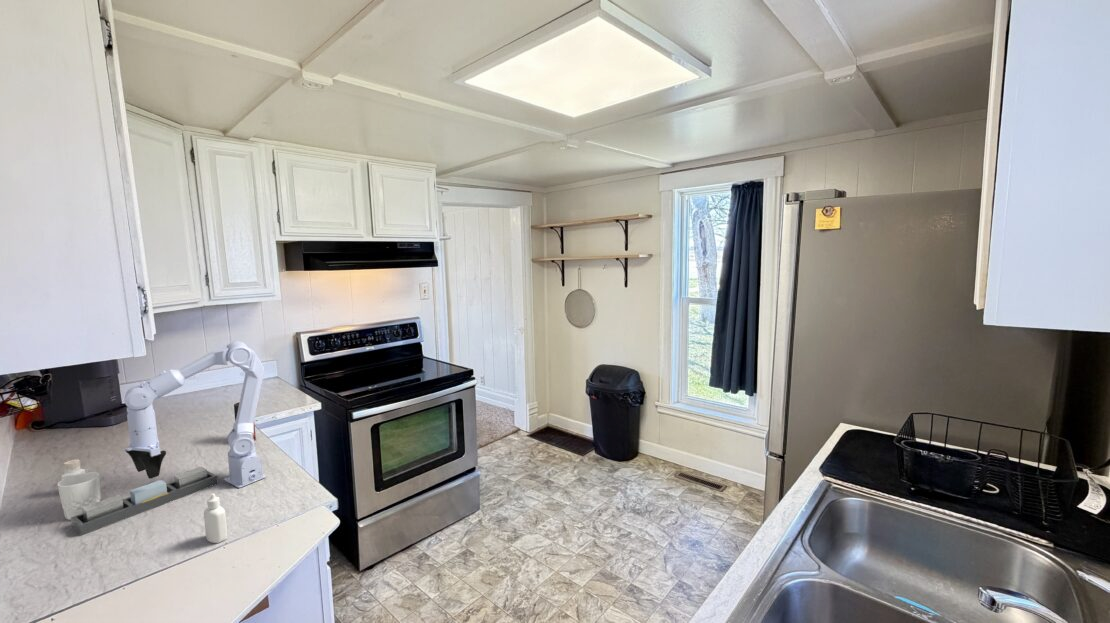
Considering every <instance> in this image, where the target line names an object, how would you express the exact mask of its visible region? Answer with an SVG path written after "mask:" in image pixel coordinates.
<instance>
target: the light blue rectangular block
mask: <svg viewBox="0 0 1110 623" xmlns="http://www.w3.org/2000/svg"><path fill="white" fill-rule="evenodd" d="M166 484H167V483H166V482H165V481H164V480H162V479H160V480H157V481H154V482H151V483H149V484H145V485H142V486H139V487H136V488H133V489H131V490H129V495H130V496H129V497H131V504H133V505H135V504H138V503H141V502H142V501H145V500H147V499H150V498H153V497H156V496H158V495H161V494H164V493H167V486H166Z"/></svg>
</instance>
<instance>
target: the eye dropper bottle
mask: <svg viewBox="0 0 1110 623" xmlns="http://www.w3.org/2000/svg"><path fill="white" fill-rule="evenodd" d="M206 502H207V508H205V509H204V511H203V520H204V529H205V530H204V531H205V539H206V540H207V541H208V542H209V543H212V544H213V543H214V544H219V543H222V542H223V541H225V540H227V539H228V528H227V527H228V526H227V519H226V518H227V516H226V510H225V508H224V507H223V506H221V503H220V502H221V501H220V496H216V494H215V493H211V494H210V498H209V499H207V501H206Z"/></svg>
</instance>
